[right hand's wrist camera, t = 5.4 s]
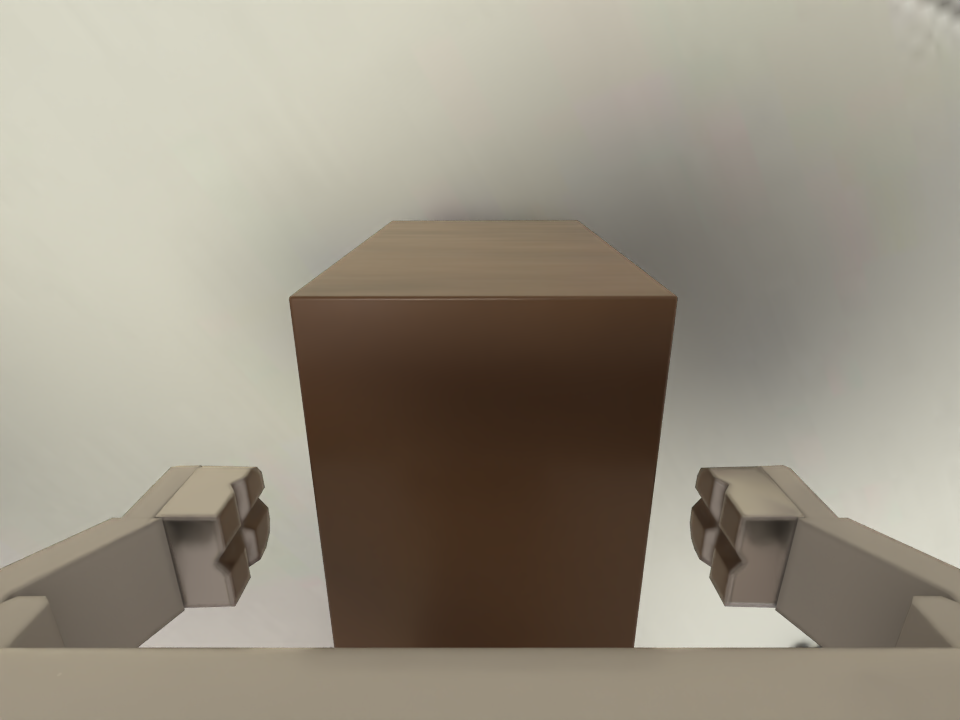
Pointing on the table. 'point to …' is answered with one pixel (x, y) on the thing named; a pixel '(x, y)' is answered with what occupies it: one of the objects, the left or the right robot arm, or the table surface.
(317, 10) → the table surface
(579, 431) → the box
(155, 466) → the table surface
